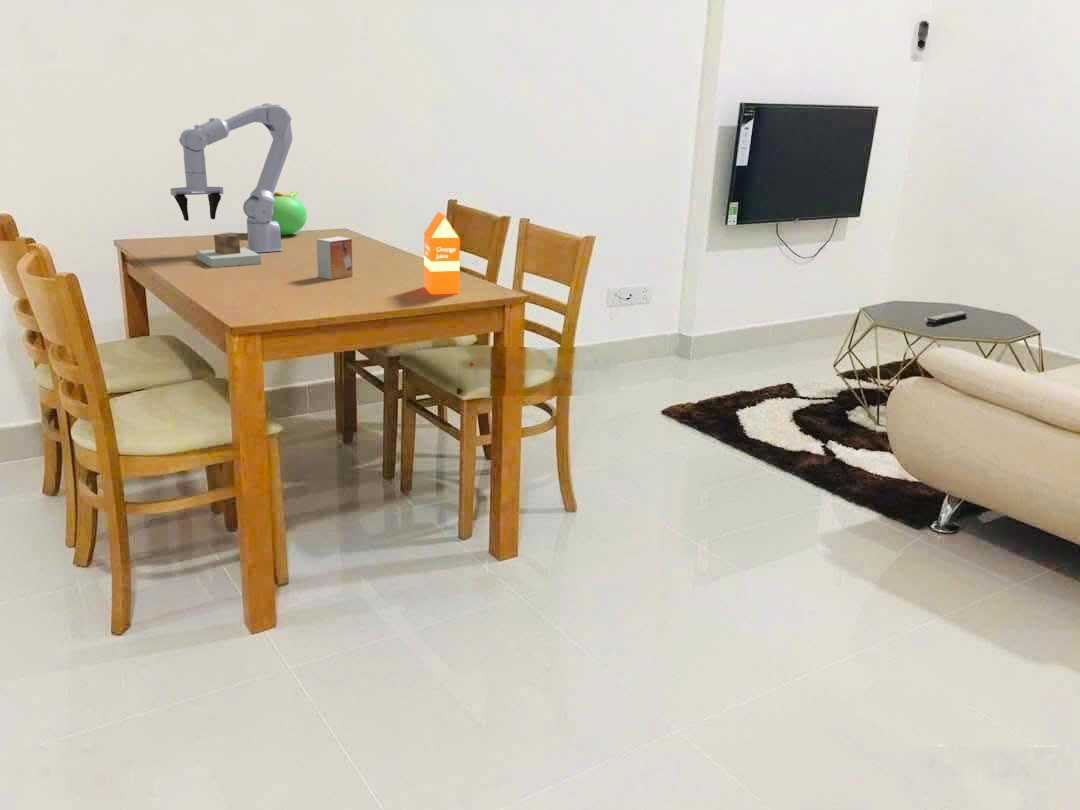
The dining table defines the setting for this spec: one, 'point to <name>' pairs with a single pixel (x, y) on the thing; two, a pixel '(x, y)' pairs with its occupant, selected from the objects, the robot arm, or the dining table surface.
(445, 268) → the orange juice
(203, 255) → the base
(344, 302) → the dining table surface
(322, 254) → the small box
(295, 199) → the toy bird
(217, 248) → the walnut cube
